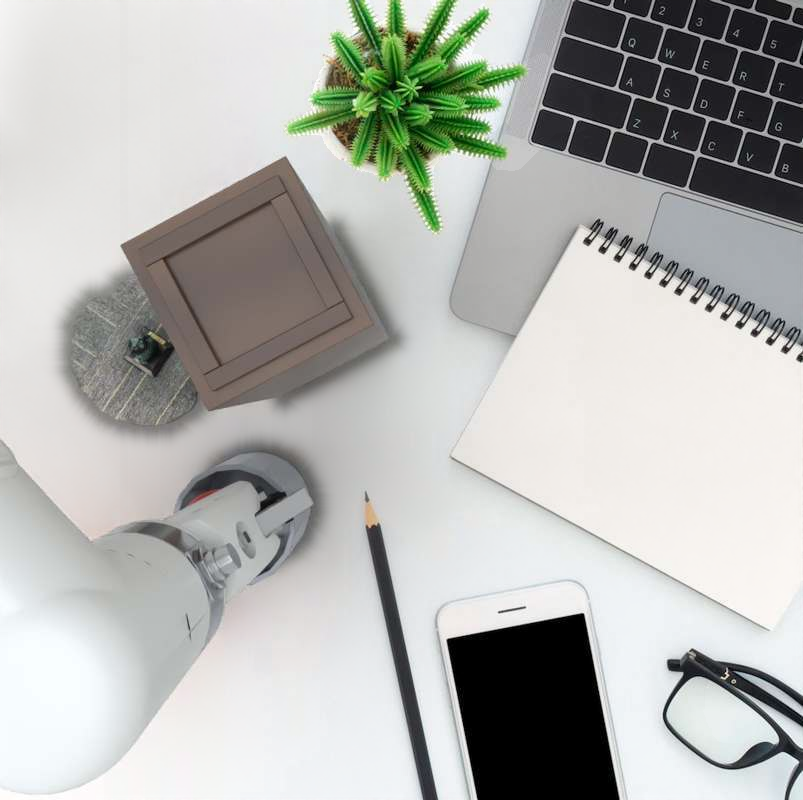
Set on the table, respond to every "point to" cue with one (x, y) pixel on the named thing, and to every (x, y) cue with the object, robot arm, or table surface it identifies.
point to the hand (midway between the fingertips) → (225, 529)
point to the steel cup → (258, 472)
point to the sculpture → (129, 359)
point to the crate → (255, 290)
